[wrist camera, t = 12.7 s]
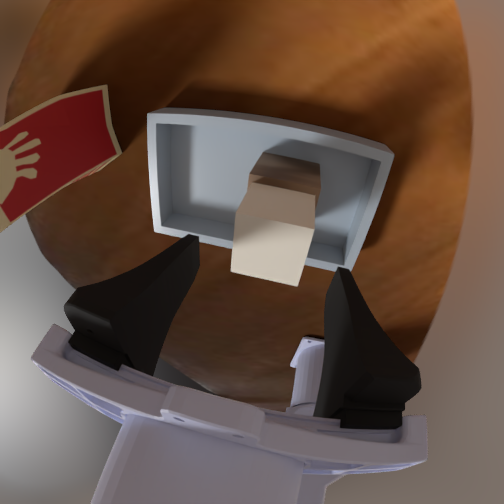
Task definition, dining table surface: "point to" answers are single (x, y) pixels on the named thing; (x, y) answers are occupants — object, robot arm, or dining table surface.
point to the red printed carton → (53, 149)
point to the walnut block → (287, 174)
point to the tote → (240, 165)
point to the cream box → (273, 233)
